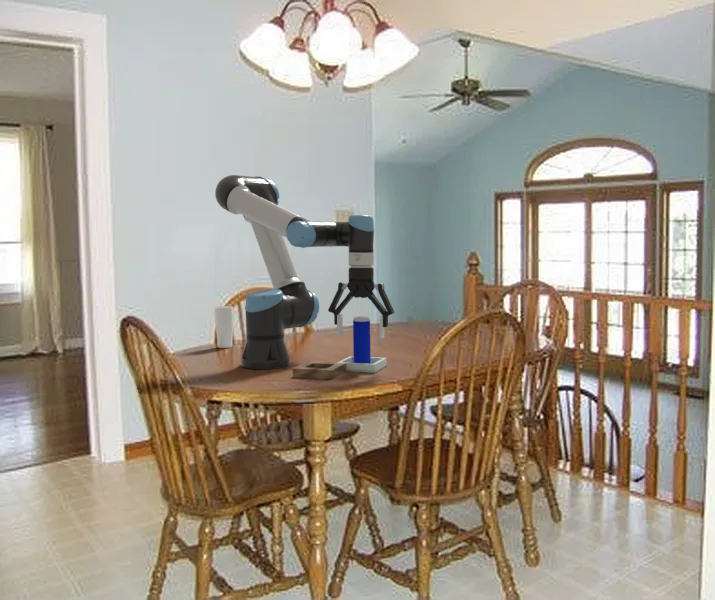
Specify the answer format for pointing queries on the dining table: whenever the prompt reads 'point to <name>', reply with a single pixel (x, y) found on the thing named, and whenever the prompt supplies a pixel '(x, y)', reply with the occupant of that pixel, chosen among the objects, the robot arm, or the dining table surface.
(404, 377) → the dining table surface
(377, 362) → the tray
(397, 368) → the dining table surface
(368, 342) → the beverage can
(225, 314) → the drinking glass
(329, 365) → the socket block
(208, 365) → the dining table surface
